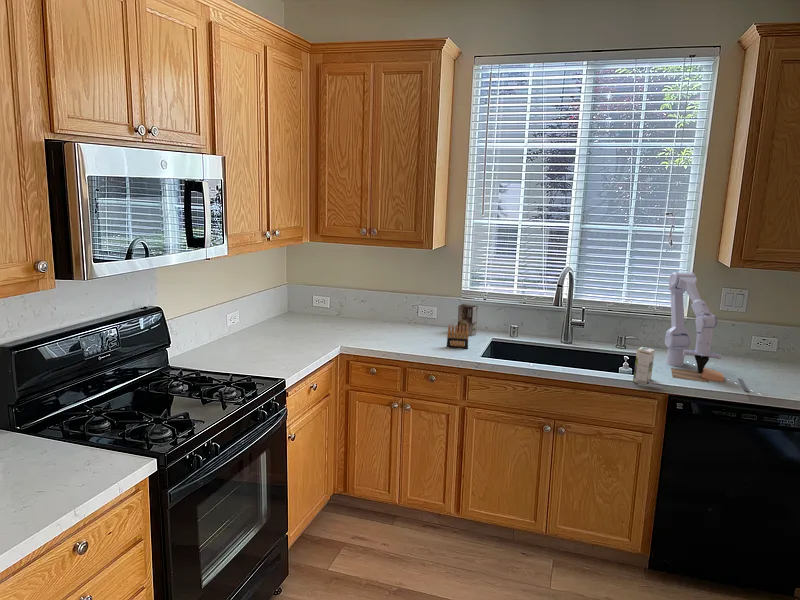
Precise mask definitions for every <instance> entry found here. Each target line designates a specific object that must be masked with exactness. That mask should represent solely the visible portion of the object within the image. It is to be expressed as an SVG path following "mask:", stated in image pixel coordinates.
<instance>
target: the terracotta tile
mask: <svg viewBox="0 0 800 600" xmlns="http://www.w3.org/2000/svg"><path fill="white" fill-rule="evenodd" d="M701 377H702V378H705V379H708V380H709V381H714V382H720V383H721V382H722V383H723V382H724V380H725V376H724V373H723V372H720V371H717V370H714V369H711V368H707V367H706V366H704V368H703V371H702V374H701Z"/></svg>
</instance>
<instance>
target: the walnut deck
mask: <svg viewBox="0 0 800 600" xmlns="http://www.w3.org/2000/svg"><path fill="white" fill-rule="evenodd" d="M670 371H671V376H672V379H680V380H687V381H694V382H702V383H709V384H710V380H708V379H705V378H702V377H701V374H700V373H698V370H691V369H683V368H677V367H670Z"/></svg>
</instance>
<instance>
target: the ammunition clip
mask: <svg viewBox="0 0 800 600" xmlns="http://www.w3.org/2000/svg"><path fill="white" fill-rule="evenodd" d="M446 335H447V336H446V337H447V338H446V348H447V347H449V348H448V349H457V348H461V349H462V350H468V349H469V336H468V325H467V327H466V333H465V327H464V325H463V328H462V335H461V325H460V326H459V331H458V324H456V325H454V324H452V325H451V324H448V327H447V334H446Z"/></svg>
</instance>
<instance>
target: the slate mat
mask: <svg viewBox="0 0 800 600" xmlns="http://www.w3.org/2000/svg"><path fill="white" fill-rule="evenodd" d="M737 381H738V382H739V384H740V387H741V389H742V390H743V392H745V393H750V390H749V388H748V387H747V385H746V384H745V381H744V379H743V378H740V377H738V378H737Z"/></svg>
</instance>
